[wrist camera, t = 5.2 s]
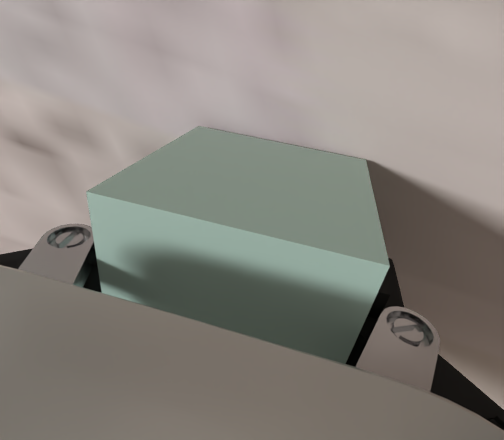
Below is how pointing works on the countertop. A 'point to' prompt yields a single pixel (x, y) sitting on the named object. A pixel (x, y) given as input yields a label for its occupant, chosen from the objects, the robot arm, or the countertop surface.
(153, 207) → the sage block
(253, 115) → the countertop surface
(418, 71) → the countertop surface
